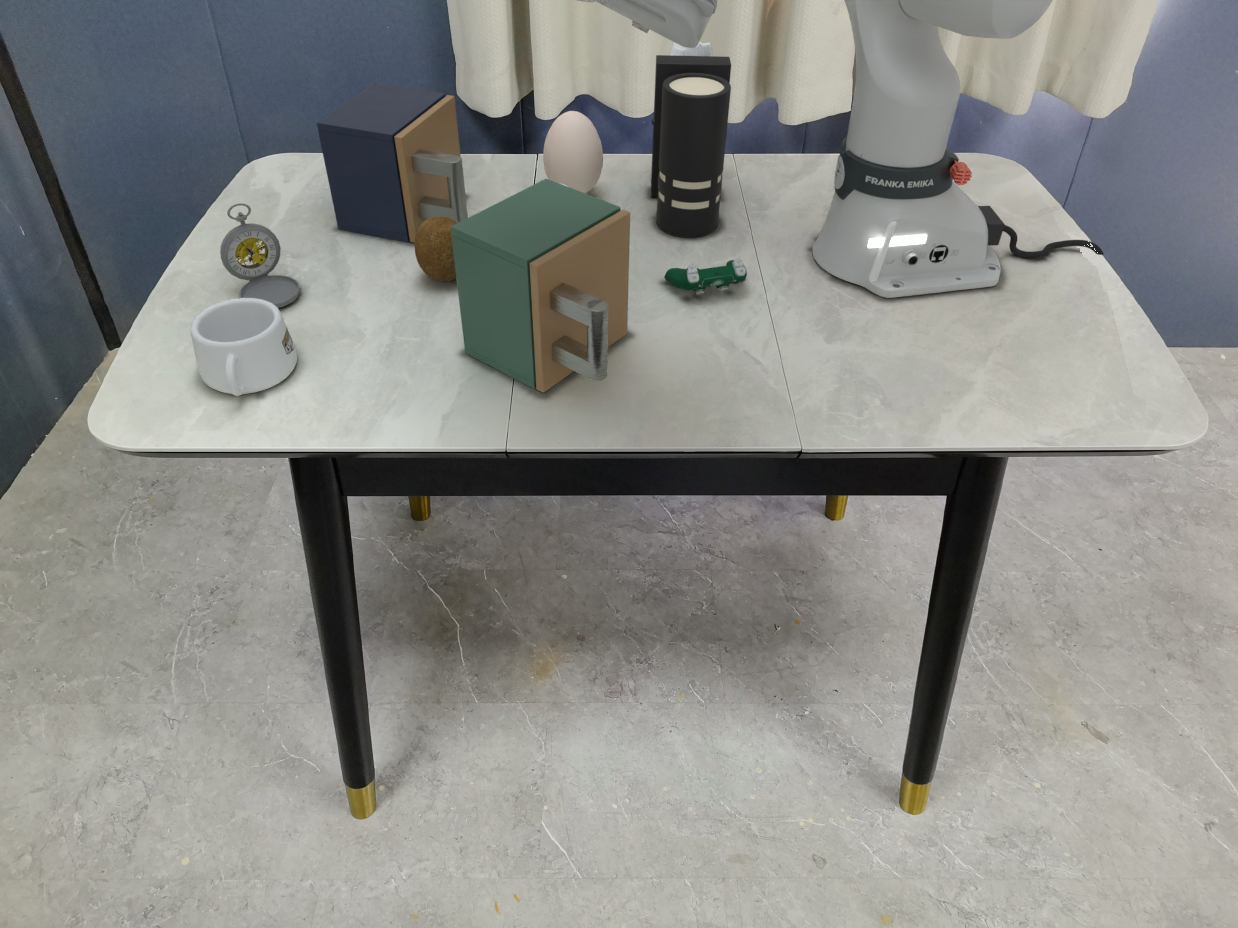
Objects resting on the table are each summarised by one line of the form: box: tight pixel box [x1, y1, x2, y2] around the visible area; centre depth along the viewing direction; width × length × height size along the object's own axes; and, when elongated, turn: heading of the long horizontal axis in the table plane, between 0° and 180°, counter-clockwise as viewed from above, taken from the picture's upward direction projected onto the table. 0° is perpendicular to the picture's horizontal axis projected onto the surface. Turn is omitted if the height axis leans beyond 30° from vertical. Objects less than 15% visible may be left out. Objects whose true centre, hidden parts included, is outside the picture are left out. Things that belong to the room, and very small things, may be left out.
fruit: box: [413, 216, 457, 282], centre depth 107 cm, size 6×6×8 cm
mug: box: [189, 297, 298, 397], centre depth 93 cm, size 12×10×6 cm
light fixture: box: [650, 54, 732, 238], centre depth 117 cm, size 10×14×18 cm
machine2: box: [451, 178, 622, 390], centre depth 96 cm, size 10×14×15 cm
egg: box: [542, 110, 604, 194], centre depth 123 cm, size 8×8×11 cm
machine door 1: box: [394, 94, 469, 243], centre depth 116 cm, size 7×14×14 cm, turn 162°
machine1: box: [316, 82, 447, 243], centre depth 117 cm, size 10×14×14 cm
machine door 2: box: [530, 209, 631, 393], centre depth 92 cm, size 7×14×14 cm, turn 142°
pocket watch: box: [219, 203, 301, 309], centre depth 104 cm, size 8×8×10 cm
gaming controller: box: [663, 257, 748, 296], centre depth 108 cm, size 9×4×6 cm
